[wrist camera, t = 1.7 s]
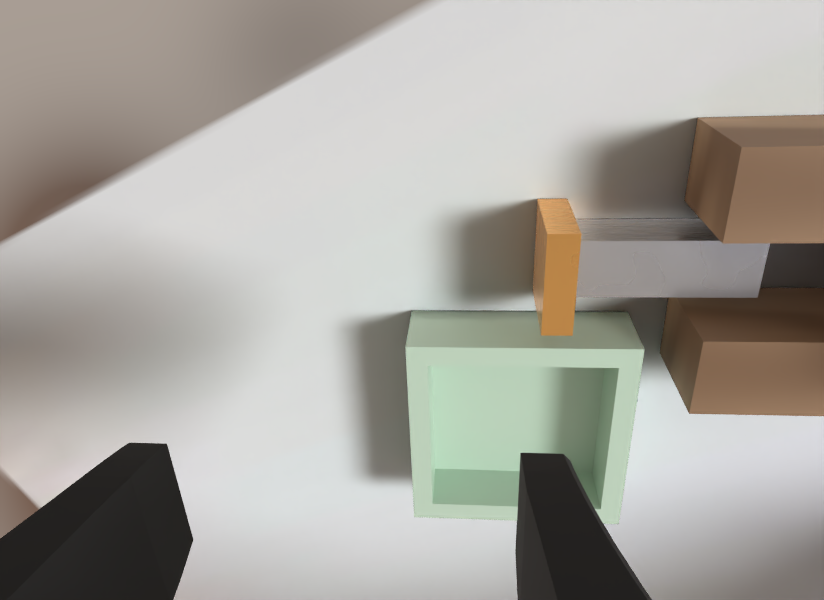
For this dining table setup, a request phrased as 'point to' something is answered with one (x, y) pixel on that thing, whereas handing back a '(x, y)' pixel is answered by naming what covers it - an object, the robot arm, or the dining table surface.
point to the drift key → (632, 262)
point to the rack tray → (517, 407)
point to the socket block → (775, 307)
